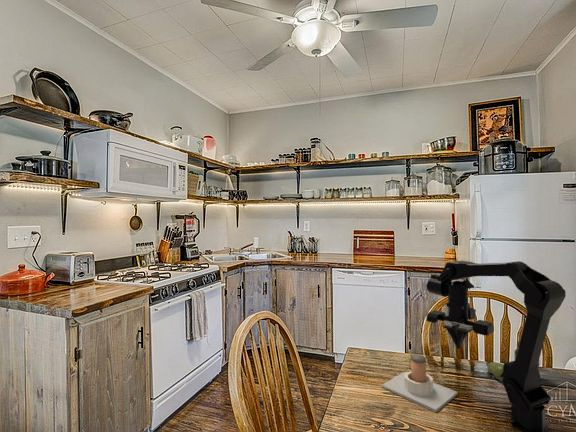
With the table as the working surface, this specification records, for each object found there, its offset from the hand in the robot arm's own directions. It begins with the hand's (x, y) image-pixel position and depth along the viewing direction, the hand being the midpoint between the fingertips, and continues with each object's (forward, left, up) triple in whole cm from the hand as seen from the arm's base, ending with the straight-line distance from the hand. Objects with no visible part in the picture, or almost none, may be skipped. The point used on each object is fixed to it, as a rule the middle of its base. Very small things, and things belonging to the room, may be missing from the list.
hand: (458, 348), depth 104 cm
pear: (-6, -18, -13) cm, 23 cm away
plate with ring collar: (+8, +11, -13) cm, 19 cm away
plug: (+8, +11, -12) cm, 18 cm away
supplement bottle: (-12, -24, -13) cm, 30 cm away
